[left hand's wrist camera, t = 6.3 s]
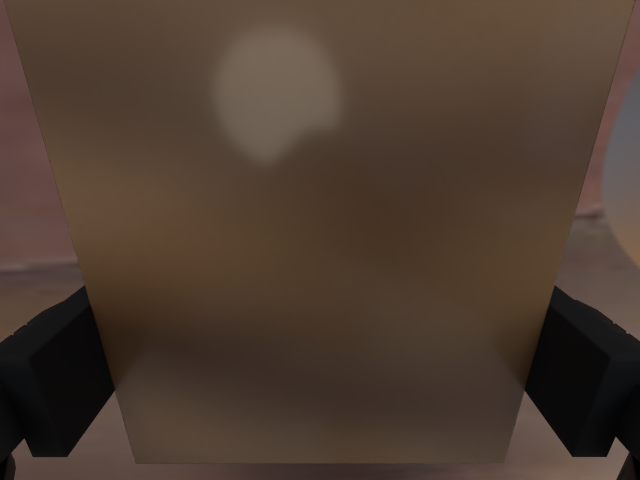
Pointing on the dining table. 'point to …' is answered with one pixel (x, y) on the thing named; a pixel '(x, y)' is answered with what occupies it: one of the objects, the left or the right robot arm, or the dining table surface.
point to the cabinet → (319, 211)
